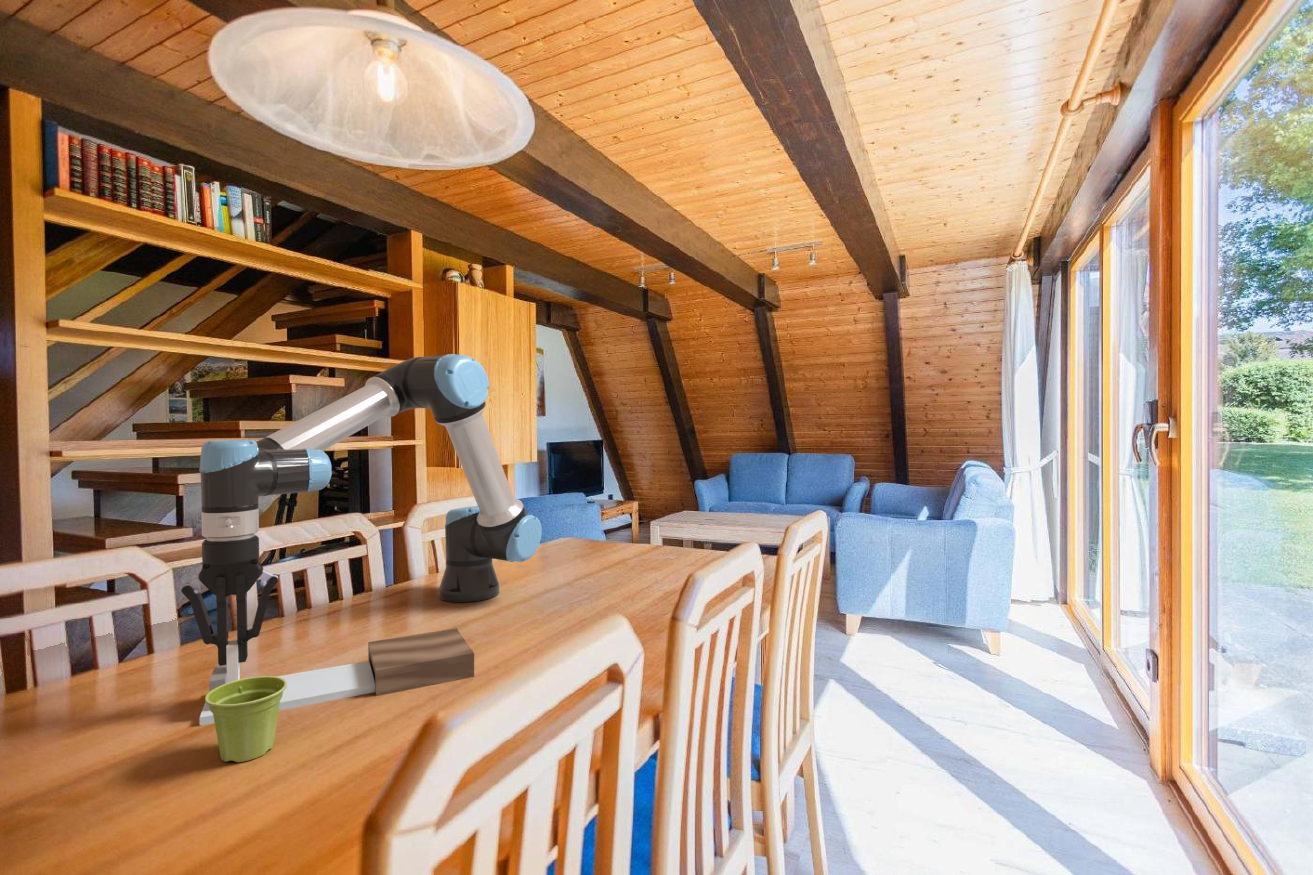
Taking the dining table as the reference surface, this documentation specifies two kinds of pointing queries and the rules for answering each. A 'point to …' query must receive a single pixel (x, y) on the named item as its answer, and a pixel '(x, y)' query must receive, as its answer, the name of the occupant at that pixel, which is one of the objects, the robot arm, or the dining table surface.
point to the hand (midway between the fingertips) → (233, 683)
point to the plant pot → (246, 716)
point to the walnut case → (420, 660)
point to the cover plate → (309, 686)
